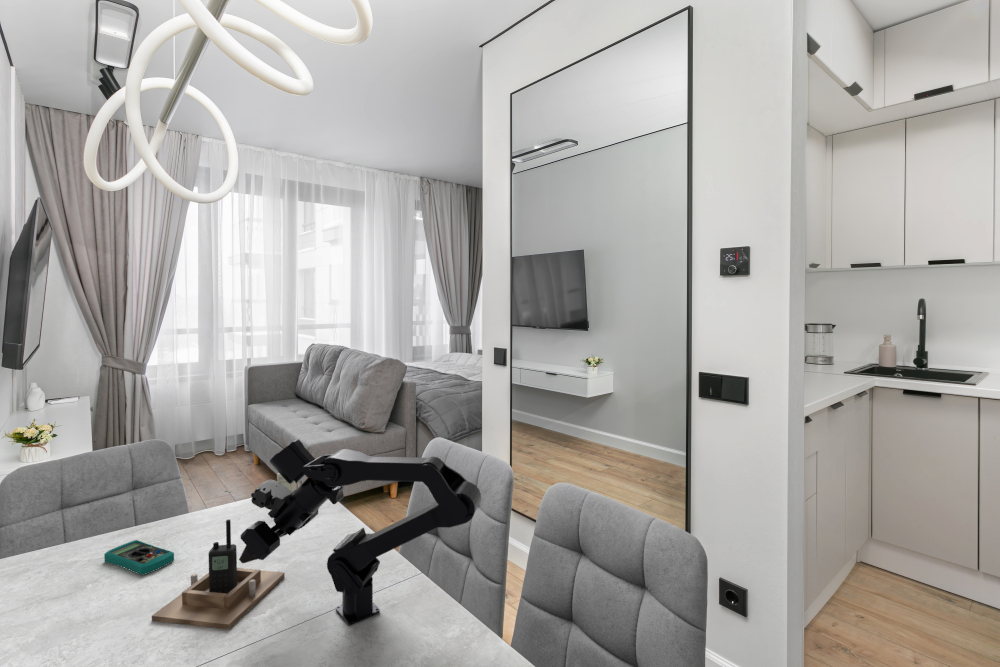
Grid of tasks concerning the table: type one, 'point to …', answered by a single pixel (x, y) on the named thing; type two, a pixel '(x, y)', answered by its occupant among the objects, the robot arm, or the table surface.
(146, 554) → the digital multimeter
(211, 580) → the walkie-talkie
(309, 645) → the table surface
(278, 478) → the skincare box
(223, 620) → the wooden frame board
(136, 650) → the table surface
